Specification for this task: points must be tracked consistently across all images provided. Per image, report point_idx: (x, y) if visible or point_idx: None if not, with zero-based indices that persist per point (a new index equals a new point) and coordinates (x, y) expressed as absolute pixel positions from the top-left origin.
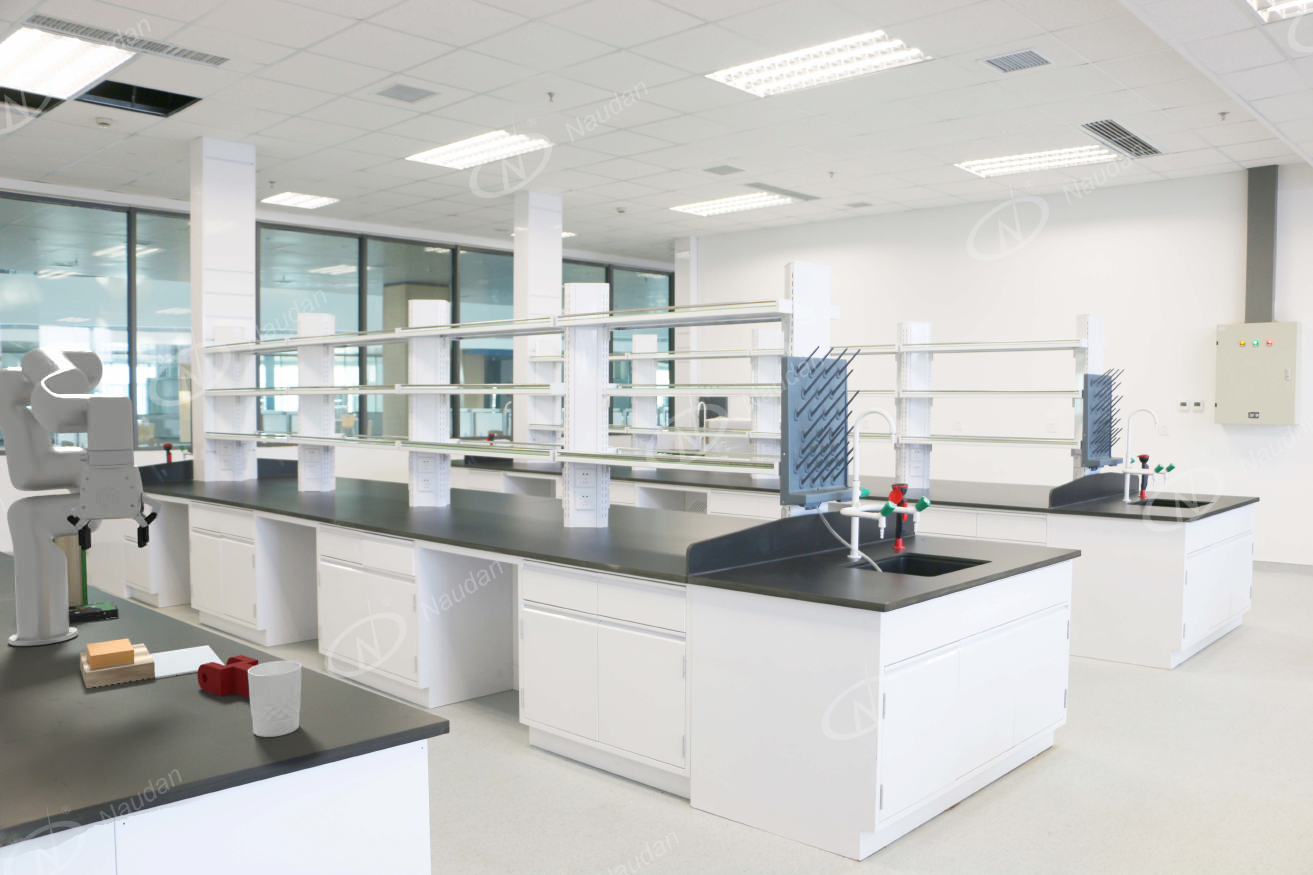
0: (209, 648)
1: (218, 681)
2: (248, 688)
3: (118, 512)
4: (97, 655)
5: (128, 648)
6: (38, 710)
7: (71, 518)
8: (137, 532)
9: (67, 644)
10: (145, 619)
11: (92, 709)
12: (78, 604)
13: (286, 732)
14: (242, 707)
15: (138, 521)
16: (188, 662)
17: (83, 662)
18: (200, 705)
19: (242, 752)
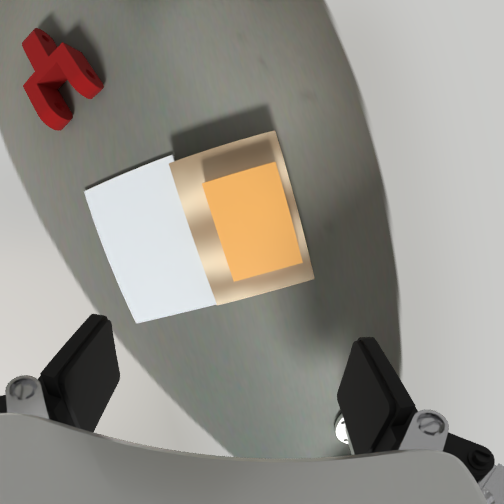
0: (128, 303)
1: (74, 50)
2: (49, 42)
3: (97, 481)
4: (263, 165)
5: (214, 197)
6: (314, 51)
7: (478, 458)
8: (75, 363)
9: None
10: None
11: (237, 29)
12: None
13: None
14: (65, 14)
15: (38, 411)
16: (138, 228)
17: (295, 205)
18: (103, 21)
19: None
